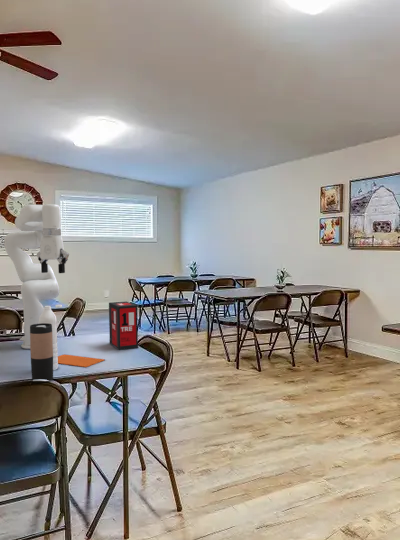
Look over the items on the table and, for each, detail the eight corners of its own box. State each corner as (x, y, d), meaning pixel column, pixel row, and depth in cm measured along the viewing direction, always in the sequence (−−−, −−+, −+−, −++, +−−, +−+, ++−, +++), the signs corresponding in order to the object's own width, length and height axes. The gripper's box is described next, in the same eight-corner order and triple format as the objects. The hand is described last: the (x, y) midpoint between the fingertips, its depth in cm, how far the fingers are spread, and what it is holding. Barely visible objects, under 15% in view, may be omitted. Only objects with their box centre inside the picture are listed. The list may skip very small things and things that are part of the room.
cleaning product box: (109, 343, 228) (108, 302, 227) (127, 341, 232) (126, 301, 231) (119, 350, 213) (118, 306, 212) (137, 348, 217) (137, 305, 216)
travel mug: (34, 377, 171) (32, 323, 170) (55, 376, 172) (54, 323, 171) (28, 383, 164) (26, 327, 162) (51, 383, 164) (49, 326, 163)
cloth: (43, 361, 194) (43, 360, 194) (64, 355, 205) (64, 354, 205) (85, 367, 184) (85, 366, 184) (104, 360, 195) (104, 359, 195)
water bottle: (42, 372, 178) (40, 307, 176) (39, 368, 183) (37, 305, 182) (65, 369, 182) (63, 305, 180) (61, 365, 188) (60, 303, 186)
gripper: (30, 233, 201) (31, 273, 202) (61, 232, 194) (62, 273, 195) (43, 233, 208) (44, 272, 209) (73, 233, 200) (74, 272, 201)
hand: (53, 272), depth 202 cm, fingers open, 9 cm apart
